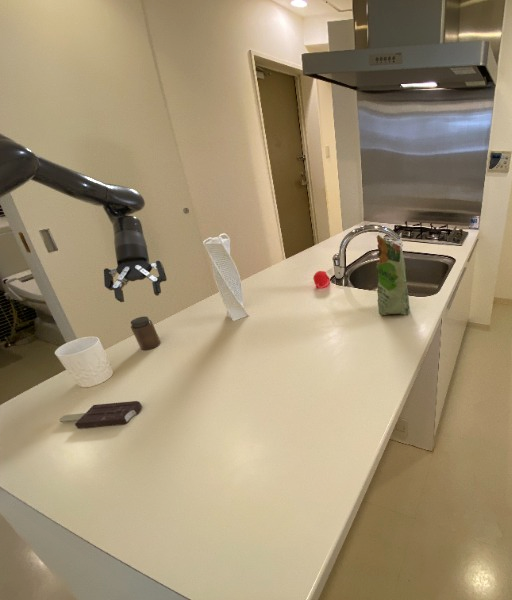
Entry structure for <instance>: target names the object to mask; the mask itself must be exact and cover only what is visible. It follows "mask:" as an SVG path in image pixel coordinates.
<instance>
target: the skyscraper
mask: <svg viewBox="0 0 512 600" xmlns="http://www.w3.org/2000/svg"><path fill="white" fill-rule="evenodd" d="M222 236H226V237H227V238H223V237H222ZM202 245H203V247H204V248H205V250H206V252H207V254H208V256H209V258H210V260H211V269H212V274H213V278H214V281H215V284H216V287H217V290H218V292H219V296H220V298H221V299H222V302H223V304H224V306H225V308H226V316H227V317H229V318H230V319H231V320H232V322H235V321H237V320H240V319H242V318H245V317H249V316H250V314H249V313H248V311H247V310H246V308H245V307H244V296H243V294H244V293H243V285H242V280H241V276H240V272H239V270H238V267H237V265H236V262H235V261H234V259H233V257H232V256H231V238H230V236H229V234H226V233H225V232H223V233H221V234H219V235H218V236H215V237H212V236H210V237H207V238H205V239H204V240H203V242H202Z"/></svg>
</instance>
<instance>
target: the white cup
mask: <svg viewBox="0 0 512 600" xmlns="http://www.w3.org/2000/svg"><path fill="white" fill-rule="evenodd" d="M54 355H55V356H56V357H57V359H58V361H59V362H60V363H61V365H62V366H63V367H64V369H65V370H66V371H67V373H68V374H69V375H70V377H71V378H72V379H73V380H74V381H75V383H76V384H77V386H79V387H81V388H91V387H95V386H98V385H100V384H103V383H104V382H106V381H108V380H109V379H110V378H111V377H112V376H113V374H114V370H113V368H112V366H111V362H110V361H109V358H108V355H107V353H106V351H105V349H104V346H103V345H102V342H101V340H100V338H99V337H97V336H93V335H92V336H90V335H89V336H84V337H79V338H76V339H73V340H70V341H68V342H66V343H63V344H62V345H60V346H58V347H57V348H56V349H55V350H54Z"/></svg>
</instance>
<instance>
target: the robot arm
mask: <svg viewBox="0 0 512 600" xmlns="http://www.w3.org/2000/svg"><path fill="white" fill-rule="evenodd" d="M30 181H32V182H34V183H35V182H36V183H38V184H41V185H43V186H45V187H47V188H50V189H52V190H54V191H55V192H58V193H60V194H63V195H66V196H68V197H70V198H73V199H75V200H78V201H80V202H84V203H87V204H90V205H93V206H97V207H102V209H103V210H104V212H105V214H106V216H107V217H108V220H109V221H110V223H111V225H112V232H113V239H114V240H113V244H114V252H115V258H116V259H115V260H116V264H117V266H116V268H113V269H110V268H107V267H106V268H104V269H103V281H104V282H103V283H104V284H103V285H104V287H105V289H107V290H108V291H113V293H114V298H115V300H116V301H118V302H120V303H124V302H125V296H124V290H123V288H124V287H125V286H127V285H128V283H130V282H136V281H142V280H145V279H149V281H151V284H152V290H153V294H154V295H155V296H157V297H158V296H160V294H161V293H162V289H161V288H162V287H161V283H163V282H166V281H167V280H168V278H167V275H166V272H165V271H166V270H165V268H164V265H163V263H162V262H161V261H160V260H156V261H155V262H150V256H149V251H148V244H147V242H146V239H145V234H144V229H143V224H142V221H141V220H140V219H139V218H138V217H136V216H133V215H132V214H136V213H137V212H138V213H139V212H140V211H142V210H143V209H144V208H145V205H146V201H145V198H144V197H143V196H142V195H141V194H140V192H138V191H137V190H135V189H133V188H131V187H128V186H123V185H120V184H119V185H118V184H114V183H105V182H103V181H100V180H98V179H96V178H94V177H91V176H88V175H86V174H84V173H82V172H78V171H76V170H74V169H72V168H68V167H67V166H63V165H61V164H59V163H55V162H54V161H51V160H48V159H46V158H45V157H42V156H40V155H38V154H36V153H34V152H33V151H32V150H31V149H29V148H27V147H26V146H24V145H23V144H21V143H19V142H17V141H15V140H14V139H11V138H10V137H9V136H7V135H5V134H2V133H0V200H1V199H2V198H4V197H6V196H8V195H9V194H11V193H12V192H14V191H16V190H17V189H19V188H20V187H22V186H24V185H25V184H26V183H28V182H30ZM153 269H154V270H156V271H157V274H158V276H157V277H156V276H154V275H153V274H152V273H151V271H152V270H153ZM117 274H118V276H117V278H116V281H115V282H114V278H115V277H116V275H117Z"/></svg>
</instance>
